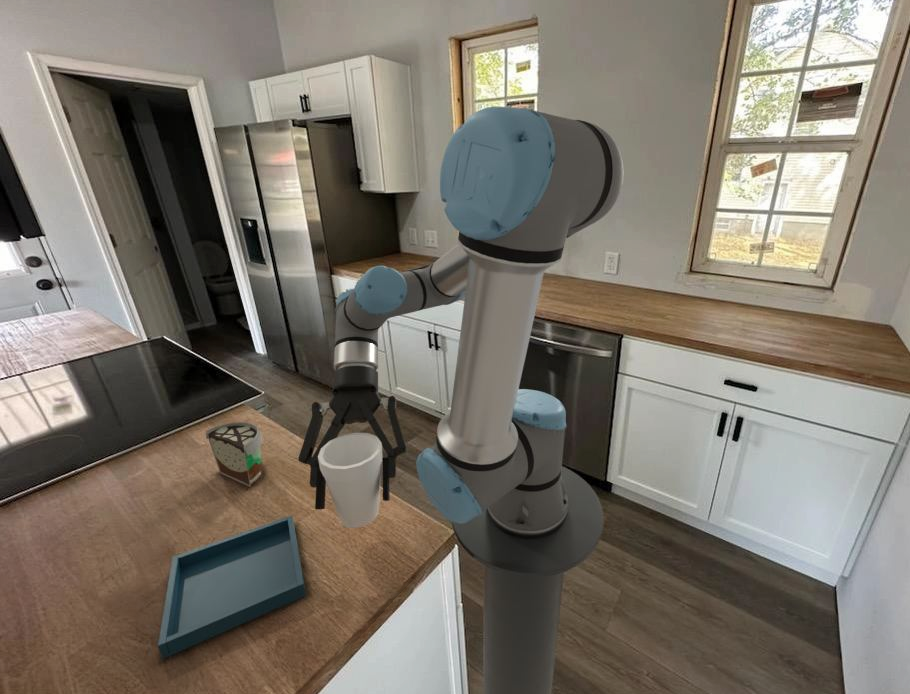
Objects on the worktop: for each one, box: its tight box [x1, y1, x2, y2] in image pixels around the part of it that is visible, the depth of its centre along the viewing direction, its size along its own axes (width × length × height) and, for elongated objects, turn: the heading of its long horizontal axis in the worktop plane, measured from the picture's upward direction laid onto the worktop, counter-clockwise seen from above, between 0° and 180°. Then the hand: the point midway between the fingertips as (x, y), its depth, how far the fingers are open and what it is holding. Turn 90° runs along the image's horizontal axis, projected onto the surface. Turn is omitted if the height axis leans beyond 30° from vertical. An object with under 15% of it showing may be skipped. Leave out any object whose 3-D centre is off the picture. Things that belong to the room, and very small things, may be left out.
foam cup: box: [318, 432, 384, 529], centre depth 67 cm, size 10×9×13 cm
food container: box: [205, 421, 264, 488], centre depth 83 cm, size 12×6×10 cm, turn 66°
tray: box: [157, 514, 307, 660], centre depth 62 cm, size 17×15×2 cm
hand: (353, 504), depth 65 cm, fingers closed on foam cup, 9 cm apart
